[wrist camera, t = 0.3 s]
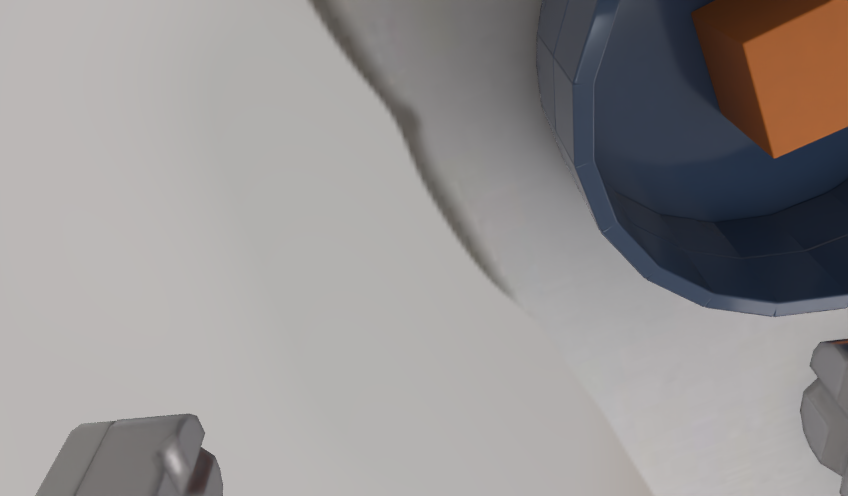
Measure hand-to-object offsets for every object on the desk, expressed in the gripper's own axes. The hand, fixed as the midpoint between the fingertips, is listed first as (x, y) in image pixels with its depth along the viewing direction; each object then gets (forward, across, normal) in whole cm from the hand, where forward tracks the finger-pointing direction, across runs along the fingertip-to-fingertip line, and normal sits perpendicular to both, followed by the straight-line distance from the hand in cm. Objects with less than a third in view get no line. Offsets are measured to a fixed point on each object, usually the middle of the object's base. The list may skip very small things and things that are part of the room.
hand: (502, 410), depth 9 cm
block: (+16, -11, +1) cm, 20 cm away
